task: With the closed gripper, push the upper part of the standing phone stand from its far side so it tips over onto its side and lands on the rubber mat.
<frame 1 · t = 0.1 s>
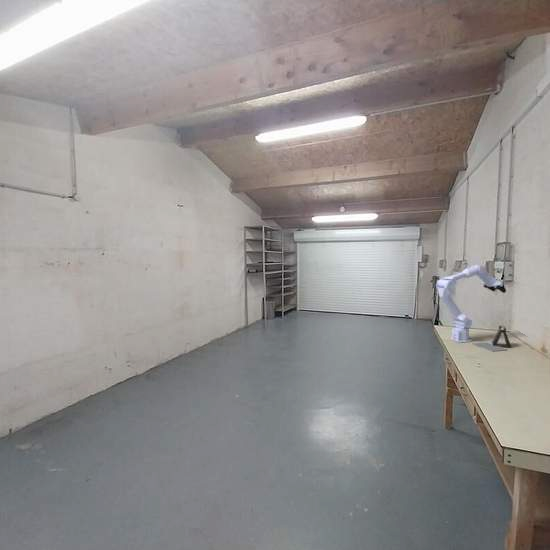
hand: (499, 291, 194), 32 cm above the workbench, tool tilted 50°, fingers open, 7 cm apart
phone stand: (501, 345, 179), on the workbench, touching mat
mat: (489, 347, 177), on the workbench
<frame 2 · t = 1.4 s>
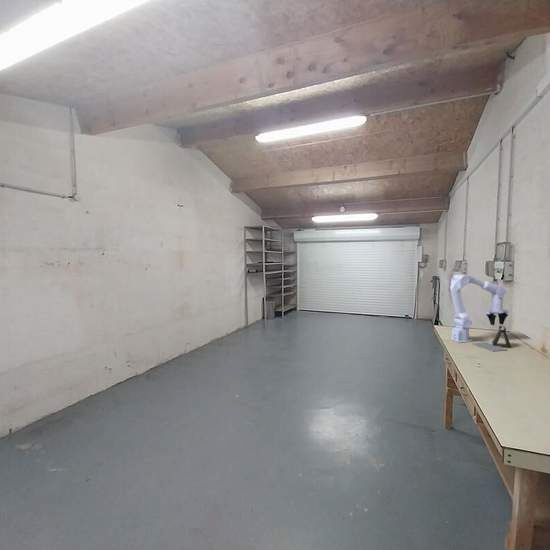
hand: (496, 324, 191), 10 cm above the workbench, tool pointing down, fingers open, 6 cm apart
nothing on the workbench moved.
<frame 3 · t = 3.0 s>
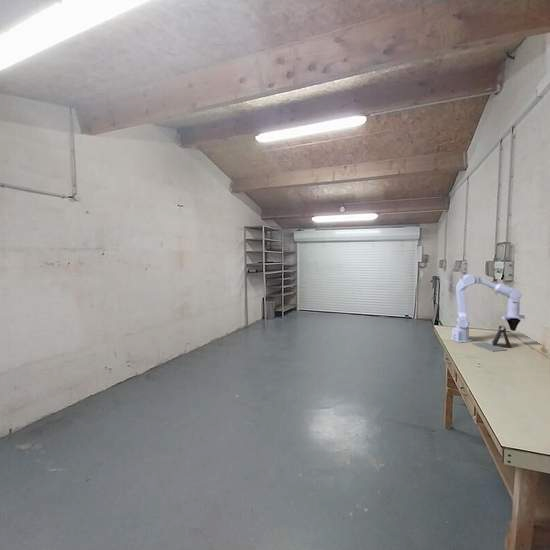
hand: (512, 330, 180), 9 cm above the workbench, tool pointing down, fingers closed
nothing on the workbench moved.
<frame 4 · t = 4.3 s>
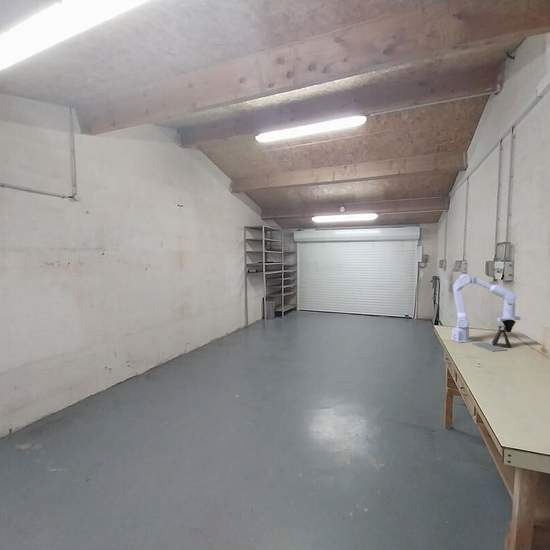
hand: (508, 331, 179), 8 cm above the workbench, tool pointing down, fingers closed
phone stand: (501, 345, 179), on the workbench, touching gripper, mat
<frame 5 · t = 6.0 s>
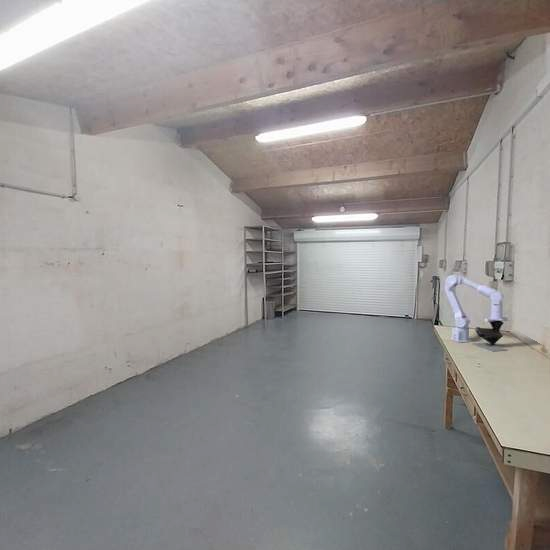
hand: (496, 332, 178), 8 cm above the workbench, tool pointing down, fingers closed
phone stand: (495, 337, 179), point 5 cm above the workbench, touching gripper, mat
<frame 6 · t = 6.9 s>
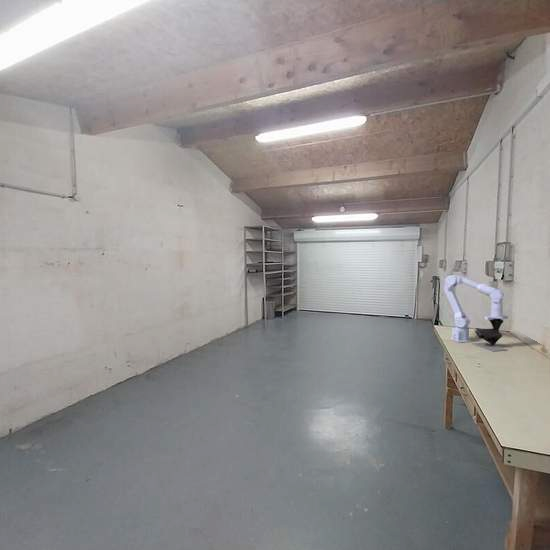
hand: (496, 331, 178), 10 cm above the workbench, tool pointing down, fingers closed
phone stand: (495, 337, 179), point 6 cm above the workbench, touching gripper
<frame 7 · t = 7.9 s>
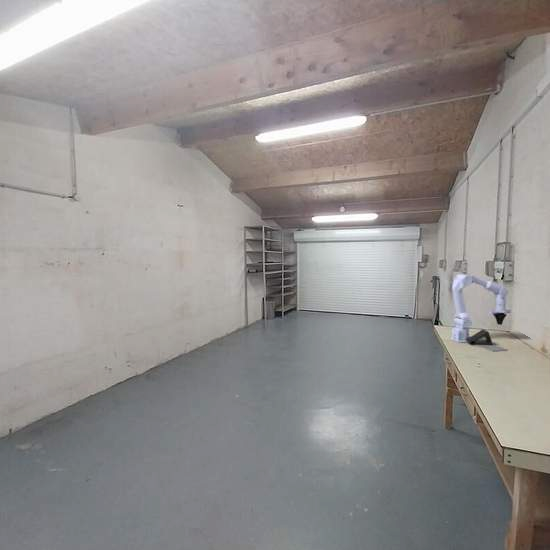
hand: (499, 324, 191), 10 cm above the workbench, tool pointing down, fingers closed
phone stand: (488, 336, 182), point 5 cm above the workbench, touching mat
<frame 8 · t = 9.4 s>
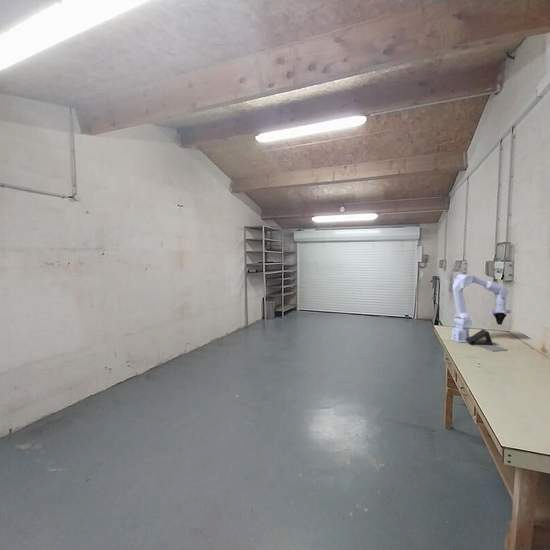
hand: (499, 324, 191), 10 cm above the workbench, tool pointing down, fingers closed
nothing on the workbench moved.
at the end: phone stand tilted 108°; phone stand touching mat, workbench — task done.
